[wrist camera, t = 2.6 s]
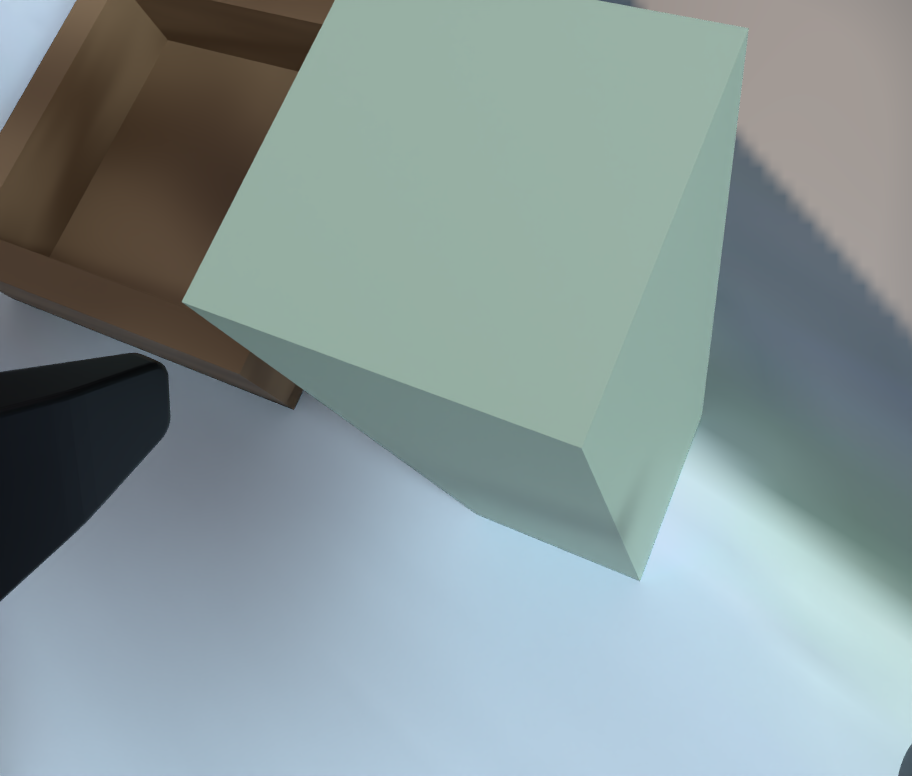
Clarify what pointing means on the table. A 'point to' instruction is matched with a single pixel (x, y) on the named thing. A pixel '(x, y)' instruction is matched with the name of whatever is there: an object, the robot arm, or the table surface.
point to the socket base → (145, 166)
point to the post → (498, 250)
